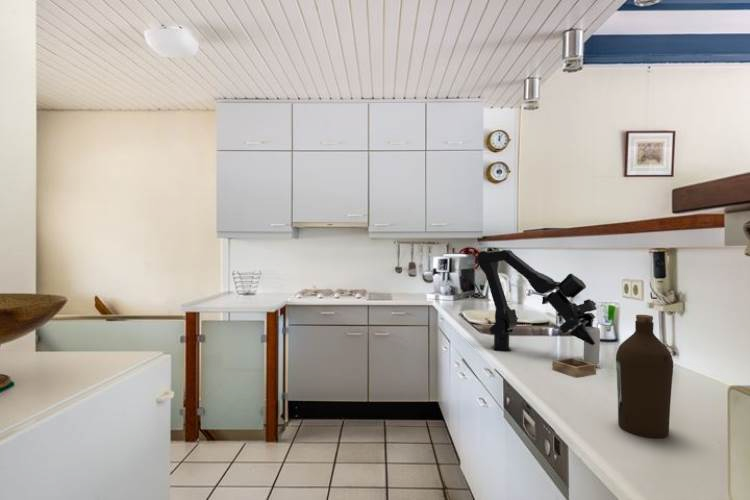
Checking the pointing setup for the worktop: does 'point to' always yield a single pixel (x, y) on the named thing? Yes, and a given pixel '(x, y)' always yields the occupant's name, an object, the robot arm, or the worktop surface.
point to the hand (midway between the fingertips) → (596, 343)
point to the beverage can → (592, 346)
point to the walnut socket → (574, 367)
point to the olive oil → (644, 382)
